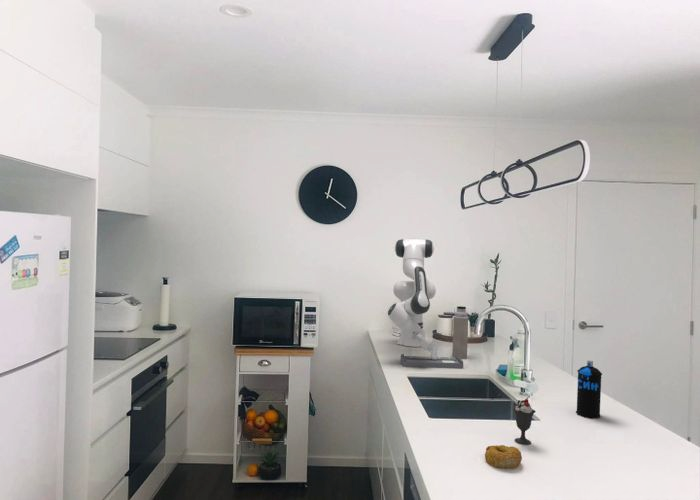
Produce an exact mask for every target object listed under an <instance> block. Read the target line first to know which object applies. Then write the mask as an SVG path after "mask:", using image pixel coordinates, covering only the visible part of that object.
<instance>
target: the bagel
mask: <svg viewBox="0 0 700 500" xmlns="http://www.w3.org/2000/svg"><path fill="white" fill-rule="evenodd" d="M522 459H523V457H522V452H521V450H520V449H519V448H518V447H516V446H507V445H504V444H500V445H498V444H497V445H488V446H487V447H486V448H485V453H484V460H485V462H486V463H487V464H489V466H493V467H495V468H499V469H505V470H514V469H517V468H519V467H520V465H521V462H522Z"/></svg>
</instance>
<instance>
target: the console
mask: <svg viewBox="0 0 700 500" xmlns="http://www.w3.org/2000/svg"><path fill="white" fill-rule="evenodd" d="M400 362H401V365H402V367H403V368H404V367H405V368H430V369H431V368H434V369H435V368H437V369H462V368H463V369H464V361H463V359H460V358H459V357H458V356H455V357H452V356H437V360H432V358H431V356H423V355H422V356H421V355H419V356H416V355H405V354H404V353H400Z"/></svg>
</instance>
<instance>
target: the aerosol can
mask: <svg viewBox="0 0 700 500" xmlns="http://www.w3.org/2000/svg"><path fill="white" fill-rule="evenodd" d="M602 375H603V373H602V371H600V370H599V369H598V368H597V367H595V366H594V361H593V360H591V359H588V360H587V361H586V366H585V365H584V366H582V367H580V368H579V369H577V391H576V392H577V396H576V411H575V414H576V413H577V414H576V415H578V416H579V415H581V416H580V417H582V416H584V417H583V418H586V417H588V418H587V419H593V418H596V419H600V418H601V395H602V394H601V391H602Z"/></svg>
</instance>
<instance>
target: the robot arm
mask: <svg viewBox="0 0 700 500" xmlns="http://www.w3.org/2000/svg"><path fill="white" fill-rule="evenodd" d="M434 251H435V246H434V244H433V241H432V240H430V239H420V238H409V239H403V238H402V239H398V240H397V241H396V243H395V244H394V253H395V255H396V256H397V257H398V258H402V271H403V274H404V275H405V276H406V277H408V278H410V279H411V280H401V281H397V282H395V283H394V285H393V289H392V290H393V295H394V296H395V297H396V298H397V299H398V300H399V301H400V302H394V303H393V304H392V305H391V306H390V307H389V308H388V310H387V316H388V318H389V319H390V320H391V322H392V324H394V325H395V326H396V327H398V328H399V330H400V332H399V334H398V335H399V338H398V340H397V343H396V344H397V345H401V346H405V347H414V348H417V347H418V348H419V347H422V348H423V350H427V351H428V352H431V351H432V346H430V345H431V344H430V343H429V341H428V340H427V339H426V331H425V330H424V322H423V315H424V314H425V313H426V314H427V312H428V311H429V309H430V308H431V307H430V306H431V303H430V302H431V301H430V300H432V299H434V297H435V295H436V292H437V291H436V290H437V289H436V286H435V285H434V283H432V282H431V281H429V279H428V278H427V274H426V271H425V259H427V258H431V257H432V256H433V255H434Z"/></svg>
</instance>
